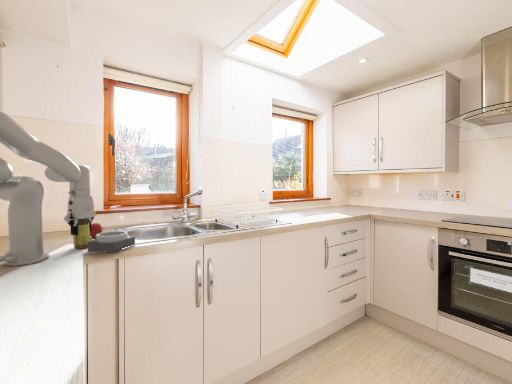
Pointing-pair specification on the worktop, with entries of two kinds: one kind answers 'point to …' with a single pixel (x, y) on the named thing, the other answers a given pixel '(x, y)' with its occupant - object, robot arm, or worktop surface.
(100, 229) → the tomato
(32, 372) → the worktop surface
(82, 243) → the sauce bottle
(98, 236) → the mount
